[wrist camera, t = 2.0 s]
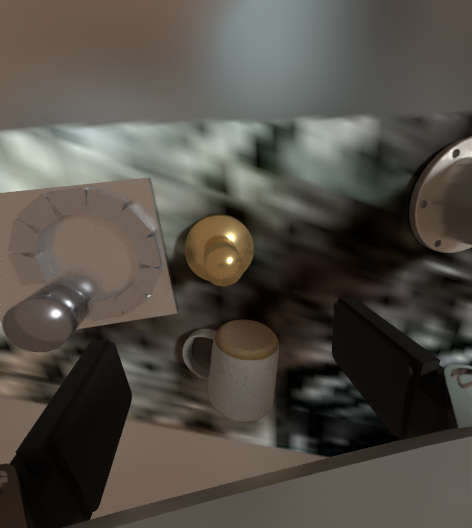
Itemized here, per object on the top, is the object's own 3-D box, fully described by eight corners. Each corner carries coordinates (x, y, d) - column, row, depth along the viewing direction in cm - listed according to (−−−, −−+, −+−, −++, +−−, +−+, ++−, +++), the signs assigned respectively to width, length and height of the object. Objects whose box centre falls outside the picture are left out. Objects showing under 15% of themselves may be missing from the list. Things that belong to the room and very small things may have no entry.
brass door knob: (247, 209, 24) (263, 219, 18) (253, 271, 26) (268, 299, 20) (179, 218, 23) (171, 232, 17) (192, 281, 26) (188, 312, 20)
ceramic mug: (271, 314, 29) (292, 358, 21) (264, 367, 31) (281, 423, 24) (183, 314, 27) (174, 362, 20) (183, 370, 30) (176, 430, 23)
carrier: (150, 178, 22) (137, 176, 17) (178, 307, 27) (173, 333, 22) (-49, 198, 20) (-121, 203, 16) (19, 332, 25) (-21, 365, 20)
